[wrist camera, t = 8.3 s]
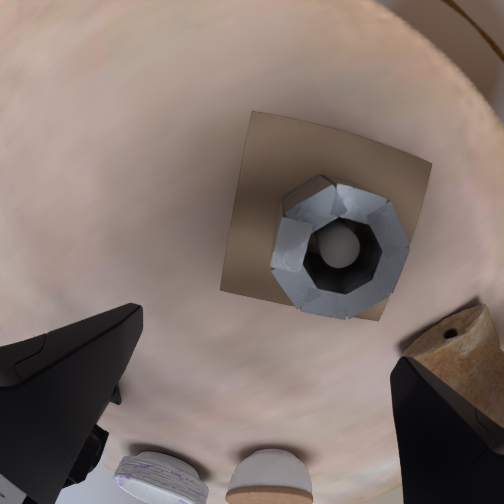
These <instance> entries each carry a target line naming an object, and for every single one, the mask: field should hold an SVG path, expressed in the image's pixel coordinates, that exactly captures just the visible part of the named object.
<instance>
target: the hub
mask: <svg viewBox="0 0 504 504" xmlns="http://www.w3.org/2000/svg"><path fill="white" fill-rule="evenodd" d="M338 217H342V218H346V219H350V220H353V221H356V223H357V226H356V229H355V233H354V234H355V236H356V237H357V238H358V241H359V244H360V251H359V254H358V256H357V258H356V260H355V261H354V262H353V263H352V264H350V265H348V266H346V267H343V268H335V267H332V266H330V265H328V264H327V263H326V262H325V261H324V260H323V258H322V255H320V254H315V253H311V252H309V251H308V250H307V245H308V242H309V238H310V234H311V233H313V232H315V231H316V230H318V229H320V228H322V227H323V226H325V225H327V224H328V223H330V222H332V221H333V220H335V219H337V218H338ZM409 245H410V244H409V242H408V239H407V237H406V234H405V232H404V229H403V227H402V225H401V223H400V220H399V218H398V216H397V213H396V211H395V209H394V207H393V205H392V203H391V201H390V200H388V199H387V198H386V197H384V196H382V195H380V194H378V193H376V192H374V191H372V190H370V189H368V188H366V187H364V186H362V185H360V184H357V183H354V182H350V181H347V180H343V179H339V178H336V177H332V176H328V175H325V174H321V176H320V175H318V174H317V175H316V176H314V177H313V178H311V179H309V180H308V181H306V182H304V183H303V184H301V185H299V186H298V187H296V188H294V189H293V190H291V191H289V192H288V193H286V194H285V195H284V198H282V200H281V205H280V209H279V213H278V218H277V222H276V226H275V231H274V236H273V245H272V254H271V263H270V267H271V272H272V274H273V275H274V277H275V278H276V280H277V281H278V282H279V284H280V285H281V287H282V288H283V290H284V291H285V293H286V294H287V296H288V297H289V298H290V300H291V301H292V303H293V304H294V306H295V307H296V309H298V308H300V311H301V312H306V313H311V314H317V315H322V316H327V317H333V318H339V319H344V320H345V318H346V316H348V318H349V319H350V318H352V317H354V316H355V315H357V314H359V313H361V312H363V311H365V310H367V309H368V308H370V307H372V306H374V305H375V304H377V303H379V302H381V301H383V300H384V299H386V298H388V297H389V294H388V292H390V293H393V291H394V289H395V286H396V284H397V281H398V279H399V276H400V274H401V271H402V269H403V266H404V264H405V261H406V258H407V256H408V253H409V250H410V249H409V248H408V247H407V246H409Z"/></svg>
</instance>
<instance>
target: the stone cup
mask: <svg viewBox="0 0 504 504" xmlns="http://www.w3.org/2000/svg"><path fill="white" fill-rule="evenodd" d="M402 356H410V357H413V358H414V359H416V360H417V361H418V362H419V363H421V364H422V365H423V366H424V367H426V368H427V369H428V370H430V371H431V372H432V373H433V374H435V375H436V376H437V377H438V378H440V379H441V380H442V381H444V382H445V383H446V384H447V385H449V386H450V387H451V388H452V389H454V390H455V391H456V392H457V393H459V394H460V395H461V396H462V397H464V398H465V399H466V400H467V401H469V402H470V403H471V404H472V405H474V407H476V408H477V409H479V410H480V411H481V412H482V413H484V414H485V415H486V416H488V417H489V418H490V419H492V420H493V421H494V422H496V423H497V424H498V425H500V426H501V427H503V428H504V352H503V351H502V350H501V349H500V348H499V340H498V336H497V333H496V330H495V327H494V324H493V322H492V319H491V316H490V313H489V310H488V307H487V306H486V304H479V305H477V306H474V307H472V308H468V309H465V310H462V311H461V312H458V313H456V314H453V315H451V316H450V317H448V318H445V319H443V320H442V321H441V322H439V323H438V324H437V325H434V326H433V327H431V328H430V329H429V330H427V331H425V332H424V333H423V334H422V335H421V336H420V337H419V338H417V339H416V340H415V341H414V342H413V343H412V344H411V345H410V346H409V347H408V348H407V349H406V350H405V351H404V352H403V354H402ZM402 356H401V357H402Z"/></svg>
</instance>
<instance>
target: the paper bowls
mask: <svg viewBox="0 0 504 504" xmlns="http://www.w3.org/2000/svg"><path fill="white" fill-rule="evenodd" d="M113 480H114V482H115V483H116V484H117V485H118V486H119V487H121V488H122V489H123V490H125V491H126V492H128V493H129V494H131V495H133V496H135V497H136V498H138V499H140V500H142V501H144V502H147V503H149V504H206V500H207V497H208V491H209V489H208V487H207V485H206V484H205V483H203V482H202V481H201V480H200V479H199V476H198V473H197V471H196V470H195V469H194V468H193V467H192V466H190V465H189V464H187V463H185V462H183V461H182V460H180V459H177V458H175V457H172V456H169V455H166V454H163V453H158V452H151V451H147V452H142V453H140V454H138V455H137V456H125V457H123V458H122V460H121V462H120V463H119V466H118V468H117V470H116V472H115V474H114V475H113Z"/></svg>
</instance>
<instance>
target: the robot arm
mask: <svg viewBox="0 0 504 504" xmlns="http://www.w3.org/2000/svg"><path fill="white" fill-rule="evenodd" d="M142 330H143V308H142V306H141V305H138V304H134V303H128V304H125V305H123V306H120V307H117V308H114V309H112V310H109V311H106V312H103V313H101V314H98V315H95V316H92V317H90V318H87V319H84V320H81V321H78V322H76V323H73V324H70V325H67V326H64V327H62V328H59V329H56V330H53V331H50V332H48V333H47V334H46V333H44V334H42V335H39V336H36V337H33V338H30V339H27V340H24V341H20V342H17V343H13V344H10V345H5V346H1V347H0V504H55V502H56V500H57V498H58V495H59V493H60V491H61V489H63V488H65V487H68V486H71V485H73V484H75V483H76V484H78V483H80V482H82V481H84V480H85V479H86V476H87V474H88V473H90V472H91V471H92V470H93V469H94V468H95V467H96V466H97V464H98V462H99V460H100V458H101V455H102V453H103V450H104V447H105V444H106V441H107V438H108V435H109V433H108V432H107V431H106V430H105V431H104V430H103V429H102V428H101V427H99V426H98V425H97V422H98V420H99V419H100V417H101V415H102V414H103V412H104V410H105V409H106V407H107V405H108V404H109V402H112V403H115V404H117V405H120V404H121V398H120V394H119V390H118V385H117V383H118V381H119V379H120V378H121V376H122V374H123V373H124V371H125V369H126V367H127V365H128V363H129V360H130V358H131V356H132V353H133V351H134V349H135V347H136V344H137V342H138V340H139V338H140V336H141V333H142ZM390 384H391V395H392V408H393V416H394V423H395V429H396V435H397V442H398V449H399V457H400V466H401V476H402V486H403V502H404V504H504V428H503V427H501V426H500V425H498V424H497V423H496V422H494V421H493V420H492V419H490V418H489V417H488V416H486V415H485V414H484V413H482V412H481V411H480V410H479V409H477V408H476V407H474V405H472V404H471V403H470V402H469V401H467V400H466V399H465V398H464V397H462V396H461V395H460V394H459V393H457V392H456V391H455V390H454V389H452V388H451V387H450V386H449V385H447V384H446V383H445V382H444V381H442V380H441V379H440V378H438V377H437V376H436V375H435V374H433V373H432V372H431V371H430V370H428V369H427V368H426V367H424V366H423V365H422V364H421V363H419V362H418V361H417V360H416V359H414V358H413V357H410V356H402V357H401V358H400V359H399V361H398V362H397V364H396V366H395V367H394V369H393V370H392V372H391V375H390Z"/></svg>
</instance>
